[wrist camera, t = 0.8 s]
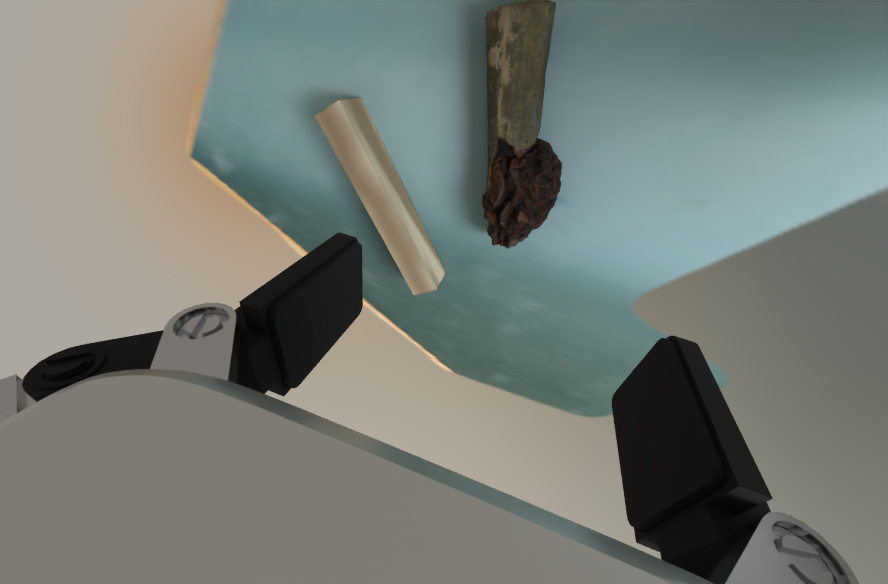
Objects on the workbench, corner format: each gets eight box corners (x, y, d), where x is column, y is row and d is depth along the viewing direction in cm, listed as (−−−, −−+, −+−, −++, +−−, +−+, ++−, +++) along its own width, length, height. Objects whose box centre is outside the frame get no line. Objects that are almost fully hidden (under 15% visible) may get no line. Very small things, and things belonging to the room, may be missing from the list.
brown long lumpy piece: (490, 17, 24) (476, 3, 20) (584, 5, 22) (591, -13, 18) (486, 231, 34) (476, 254, 29) (551, 235, 32) (550, 260, 28)
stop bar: (361, 97, 30) (338, 100, 27) (445, 272, 38) (435, 290, 35) (339, 111, 31) (314, 116, 28) (425, 277, 40) (413, 295, 36)
